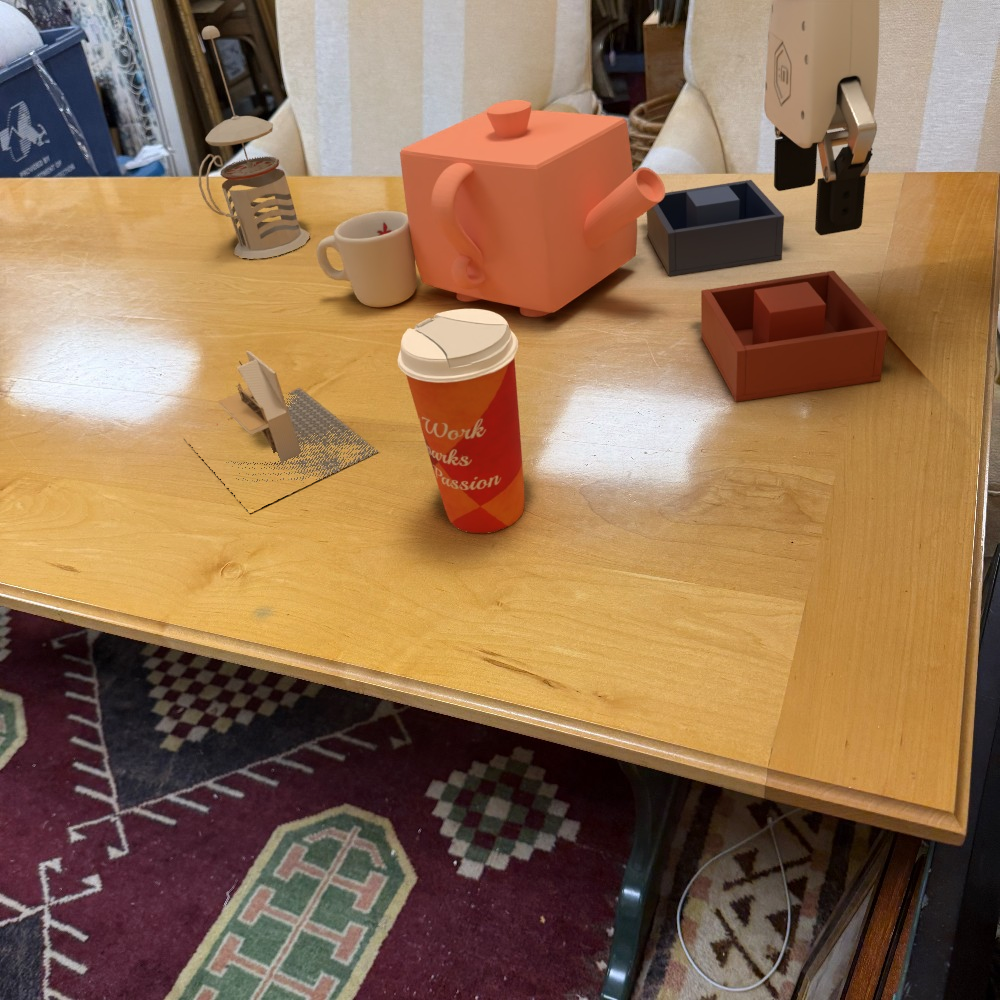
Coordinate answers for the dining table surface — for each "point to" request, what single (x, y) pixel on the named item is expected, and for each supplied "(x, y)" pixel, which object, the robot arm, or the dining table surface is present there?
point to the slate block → (711, 206)
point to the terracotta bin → (792, 341)
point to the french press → (253, 173)
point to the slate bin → (716, 233)
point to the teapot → (525, 205)
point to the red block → (787, 313)
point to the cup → (374, 257)
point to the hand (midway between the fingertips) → (815, 207)
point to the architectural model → (288, 420)
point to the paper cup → (469, 414)
